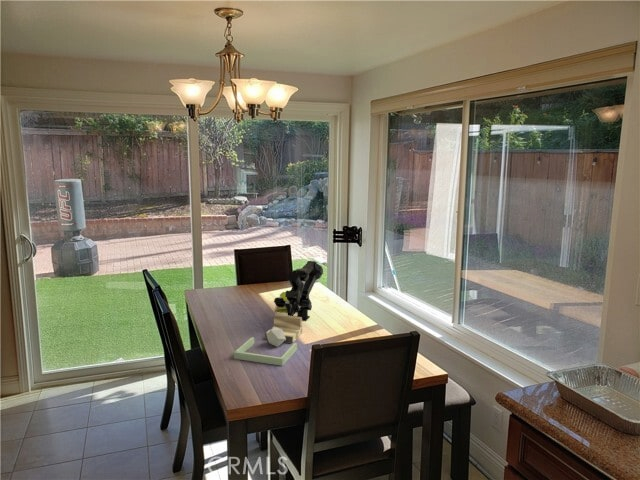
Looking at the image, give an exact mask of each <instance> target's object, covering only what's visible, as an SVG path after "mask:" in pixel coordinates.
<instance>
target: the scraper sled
mask: <svg viewBox="0 0 640 480" xmlns="http://www.w3.org/2000/svg"><path fill="white" fill-rule="evenodd" d="M274 327H277V328H280V329H282V330H283V332H284V335H285V338H286V340H285V341H284V342H283V343H286V344H287V343H288V344H294V343H295V342H296V340H297V339H298V338H299V337H301V336H302V334H303V320H302V317H297V315H296V316H295V315H293V316H288V314H286V315H285V314H278V313H275V314H274V315H273V326H272V327H271V328H270V329H269V330H267V331H266V332H265V333H264V340H267V341H268V338H267V335H266V334H267V333H268V332H269V331H270V330H271V329H273V328H274Z"/></svg>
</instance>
